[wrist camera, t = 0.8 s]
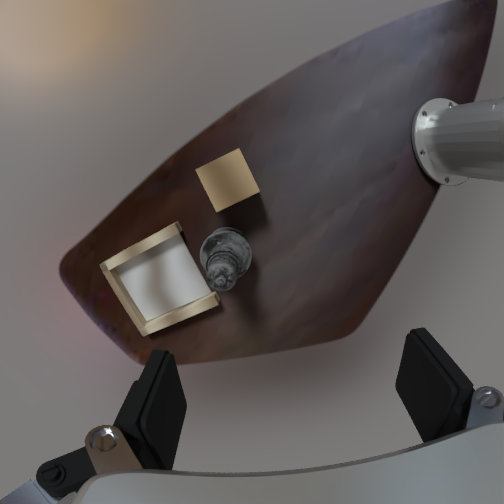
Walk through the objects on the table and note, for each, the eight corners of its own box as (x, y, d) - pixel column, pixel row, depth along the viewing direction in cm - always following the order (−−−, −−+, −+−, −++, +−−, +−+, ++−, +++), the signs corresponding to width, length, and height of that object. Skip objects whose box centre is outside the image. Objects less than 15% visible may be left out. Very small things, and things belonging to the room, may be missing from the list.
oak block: (239, 150, 34) (239, 148, 30) (257, 188, 36) (260, 191, 31) (202, 169, 35) (195, 169, 30) (220, 206, 36) (216, 212, 31)
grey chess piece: (248, 272, 39) (251, 317, 27) (202, 268, 38) (186, 311, 27) (253, 226, 37) (257, 254, 25) (205, 222, 37) (187, 248, 25)
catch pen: (177, 221, 36) (174, 224, 35) (219, 298, 39) (218, 304, 38) (104, 261, 38) (99, 265, 36) (146, 330, 41) (143, 336, 39)
